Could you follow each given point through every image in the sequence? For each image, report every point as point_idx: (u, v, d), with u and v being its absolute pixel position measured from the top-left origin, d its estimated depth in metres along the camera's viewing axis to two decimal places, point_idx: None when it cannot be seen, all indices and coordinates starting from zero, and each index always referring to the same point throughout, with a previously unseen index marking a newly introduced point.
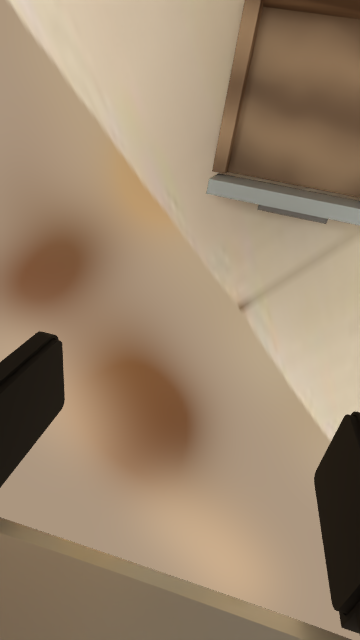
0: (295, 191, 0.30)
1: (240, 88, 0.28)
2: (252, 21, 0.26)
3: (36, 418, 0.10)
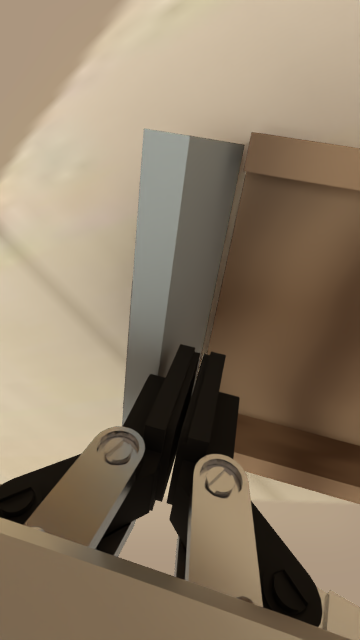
0: (192, 333, 0.15)
1: None
2: None
3: (181, 427, 0.11)
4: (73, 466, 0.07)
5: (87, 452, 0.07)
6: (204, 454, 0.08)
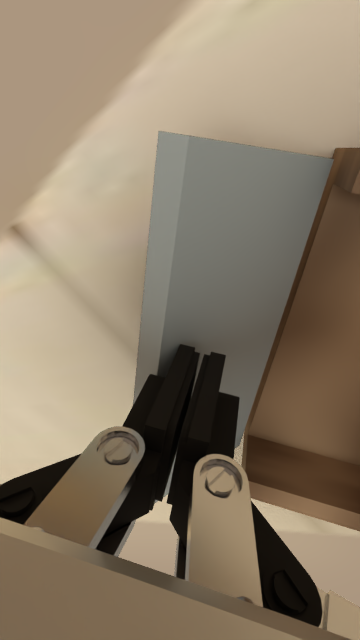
0: (230, 354, 0.14)
1: None
2: None
3: (181, 427, 0.11)
4: (73, 466, 0.07)
5: (87, 452, 0.07)
6: (204, 454, 0.08)
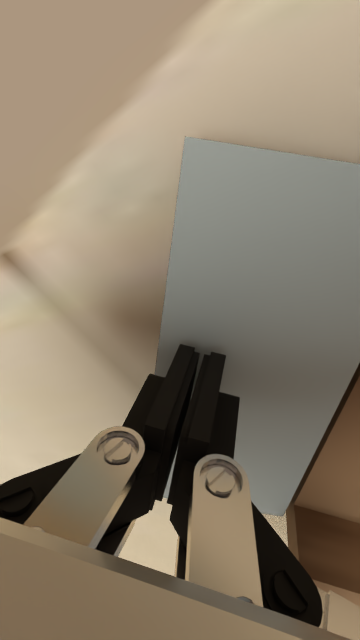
0: (258, 384, 0.12)
1: None
2: None
3: (181, 427, 0.11)
4: (73, 466, 0.07)
5: (87, 452, 0.07)
6: (204, 454, 0.08)
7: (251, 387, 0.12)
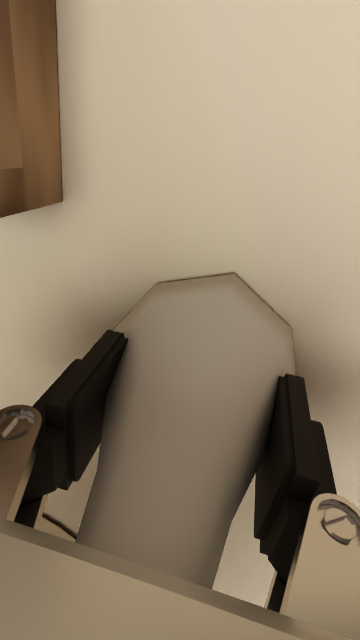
0: None
1: None
2: None
3: None
4: None
5: None
6: (312, 492, 0.07)
7: None
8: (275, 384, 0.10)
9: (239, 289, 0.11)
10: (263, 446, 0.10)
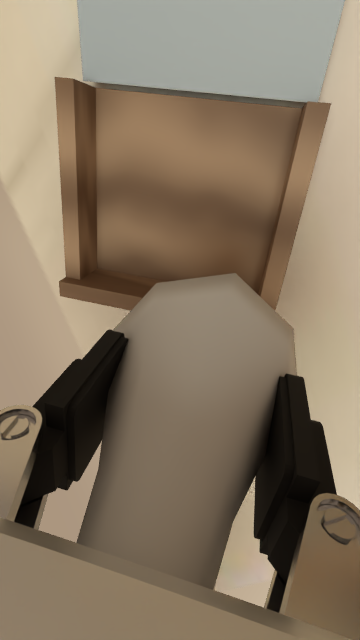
0: (200, 25, 0.19)
1: (279, 228, 0.21)
2: (266, 292, 0.23)
3: None
4: None
5: None
6: (312, 492, 0.07)
7: (197, 20, 0.19)
8: (276, 384, 0.10)
9: (240, 289, 0.11)
10: (264, 446, 0.10)
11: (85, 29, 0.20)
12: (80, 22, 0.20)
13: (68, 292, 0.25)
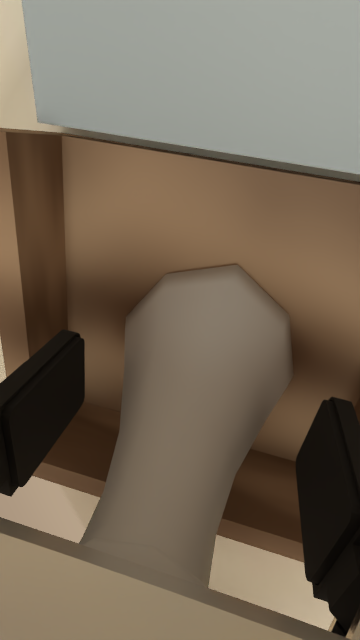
0: (275, 29, 0.09)
1: None
2: None
3: (60, 413, 0.10)
4: None
5: None
6: None
7: (270, 19, 0.09)
8: (273, 362, 0.12)
9: (242, 278, 0.12)
10: (262, 416, 0.11)
11: (38, 27, 0.10)
12: (26, 11, 0.10)
13: None
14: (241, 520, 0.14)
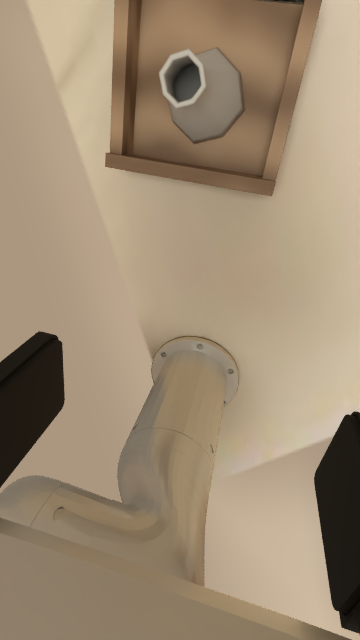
0: None
1: (283, 99, 0.27)
2: (271, 158, 0.29)
3: (36, 418, 0.10)
4: None
5: None
6: None
7: None
8: (232, 81, 0.28)
9: (219, 52, 0.29)
10: (226, 97, 0.27)
11: None
12: None
13: (112, 163, 0.31)
14: (220, 172, 0.30)
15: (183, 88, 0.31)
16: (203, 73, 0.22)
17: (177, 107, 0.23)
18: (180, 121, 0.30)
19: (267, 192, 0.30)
